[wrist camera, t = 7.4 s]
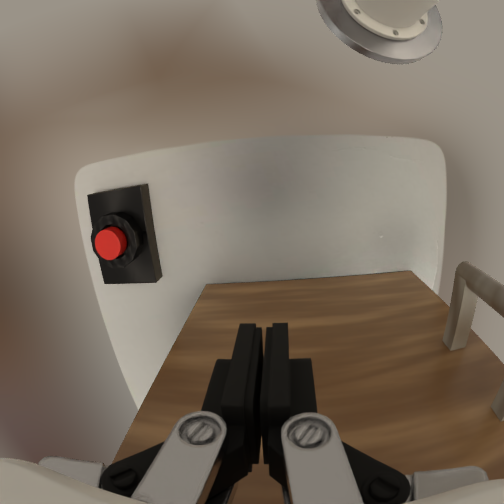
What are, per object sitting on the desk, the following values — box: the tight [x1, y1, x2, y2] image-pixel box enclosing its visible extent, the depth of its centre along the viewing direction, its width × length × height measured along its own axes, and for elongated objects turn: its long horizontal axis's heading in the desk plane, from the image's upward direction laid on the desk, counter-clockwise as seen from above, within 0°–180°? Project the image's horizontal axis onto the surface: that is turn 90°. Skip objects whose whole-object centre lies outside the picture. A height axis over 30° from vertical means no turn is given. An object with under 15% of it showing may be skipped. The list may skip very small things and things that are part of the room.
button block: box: [87, 184, 162, 284], centre depth 35 cm, size 12×8×4 cm, turn 5°
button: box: [95, 227, 127, 260], centre depth 32 cm, size 4×4×2 cm
